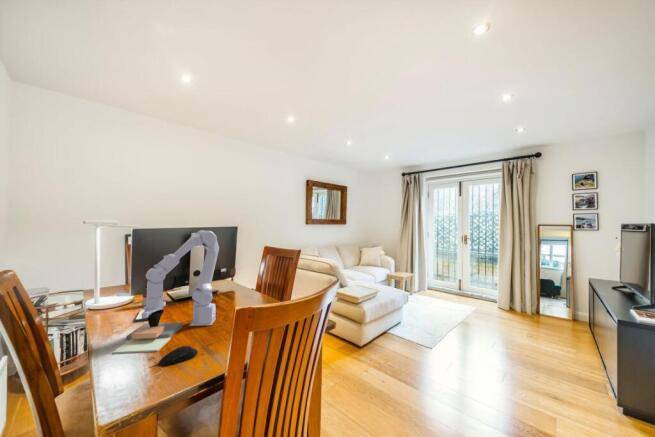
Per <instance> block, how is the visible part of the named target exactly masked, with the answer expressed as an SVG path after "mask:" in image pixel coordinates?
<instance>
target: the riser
mask: <svg viewBox="0 0 655 437" xmlns="http://www.w3.org/2000/svg"><path fill="white" fill-rule="evenodd" d="M158 326H164V332H162V333H161V334H160V335H159V336H158V337H157V338H170V337H171V338H172V337H174V335H176V333H178V332H179V331H180V329H182V328H183V322H159V324H158ZM140 327H150V326H149V323H143V324H142V325H140V326H139V327H138V328H136V329H134V330H133V331H131V333H128V334H127V335H126V342H128V341H129V340H130V339H132V333H134V332H135V331H136V330H138V329H139V328H140ZM143 339H147V338H143Z"/></svg>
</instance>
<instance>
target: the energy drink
mask: <svg viewBox="0 0 655 437" xmlns="http://www.w3.org/2000/svg"><path fill="white" fill-rule="evenodd" d="M146 293H147V288H146ZM146 300H147V294H143V293H142V307H143V308H144V307H146Z"/></svg>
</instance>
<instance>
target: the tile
mask: <svg viewBox="0 0 655 437" xmlns="http://www.w3.org/2000/svg"><path fill="white" fill-rule="evenodd" d="M139 327H140V326H139ZM139 327H138V328H139ZM135 330H136V329H135ZM135 330H134V331H135ZM162 332H164V326H156V327H140V328H139V329H138V330H136V331H135V332H134V333H132V332H131V333H132V339H143V338H157V337H158V336H159V335H160V334H161V333H162Z"/></svg>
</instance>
